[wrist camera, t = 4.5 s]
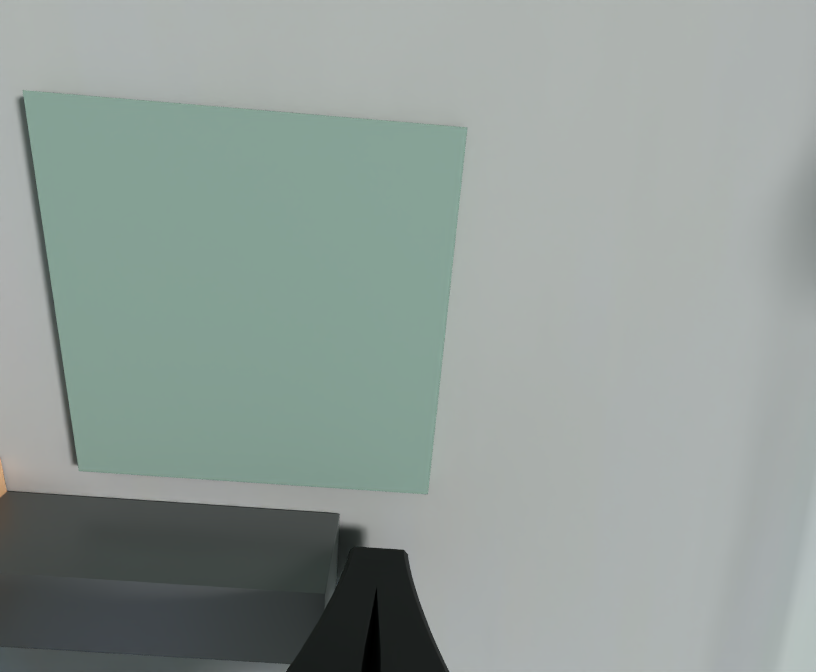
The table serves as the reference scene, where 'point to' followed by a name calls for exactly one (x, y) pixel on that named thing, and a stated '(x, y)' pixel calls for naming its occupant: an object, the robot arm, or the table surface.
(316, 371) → the mat
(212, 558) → the plug
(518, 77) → the table surface
